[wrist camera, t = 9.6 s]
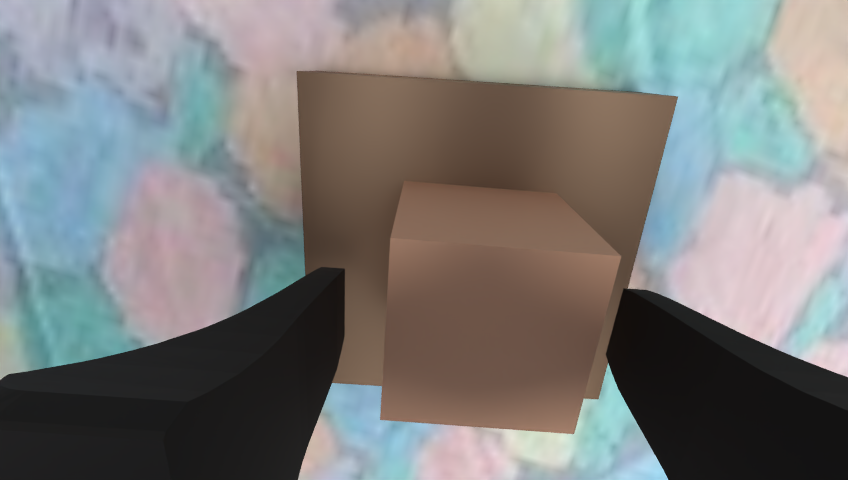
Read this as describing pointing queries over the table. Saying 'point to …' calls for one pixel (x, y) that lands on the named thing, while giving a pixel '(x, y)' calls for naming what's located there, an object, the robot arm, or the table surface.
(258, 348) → the robot arm
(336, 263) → the walnut block
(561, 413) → the terracotta cube
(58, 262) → the table surface
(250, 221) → the table surface
